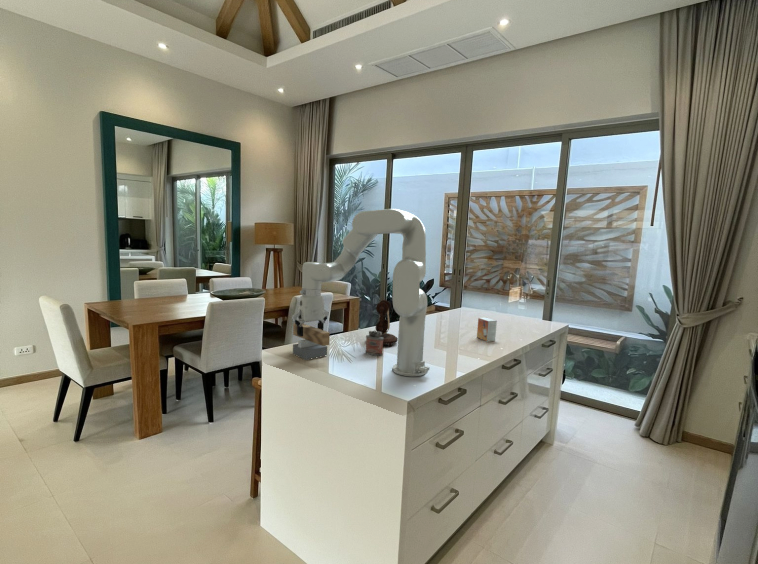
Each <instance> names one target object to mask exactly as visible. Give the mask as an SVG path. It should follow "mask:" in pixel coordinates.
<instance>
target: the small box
mask: <svg viewBox="0 0 758 564" xmlns="http://www.w3.org/2000/svg"><path fill="white" fill-rule="evenodd" d="M497 322H498V321H497V320H495V319H492V318H488V317H478V320H477V330H476V332H477V333H476V338H477V337H478V338H477V339H480V340H482V339H483V341H485V342H494V340H495V341H496V333H497V324H498V323H497Z"/></svg>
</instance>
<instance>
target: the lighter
mask: <svg viewBox="0 0 758 564" xmlns="http://www.w3.org/2000/svg"><path fill="white" fill-rule="evenodd" d="M379 335H382V332H378V331H376V329H374V330H369V331H368V334H367V335H365V338H366V341H365V345H366V346H365V352H364V353H365V354H368V355H370V354H372V355H371V356H375V357H376V356H377V357H382V356H383V355H384V353H383V348H384V347H383V346H384V344H383V339H384V338H383V337H379Z"/></svg>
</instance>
